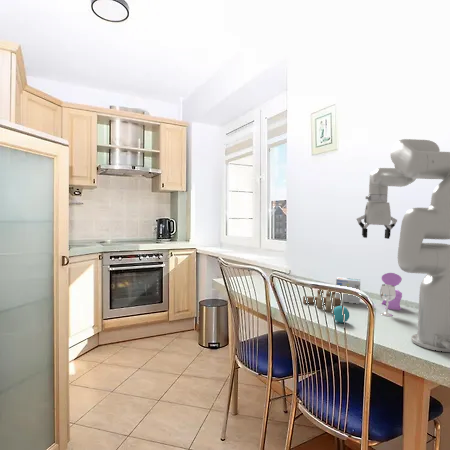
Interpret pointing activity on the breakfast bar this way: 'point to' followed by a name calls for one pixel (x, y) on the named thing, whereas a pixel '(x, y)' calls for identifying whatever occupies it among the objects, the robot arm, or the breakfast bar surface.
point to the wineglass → (387, 296)
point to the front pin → (328, 302)
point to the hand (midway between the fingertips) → (375, 238)
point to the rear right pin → (333, 298)
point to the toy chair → (395, 280)
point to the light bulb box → (349, 283)
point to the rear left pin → (319, 299)
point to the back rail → (310, 300)
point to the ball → (340, 314)
